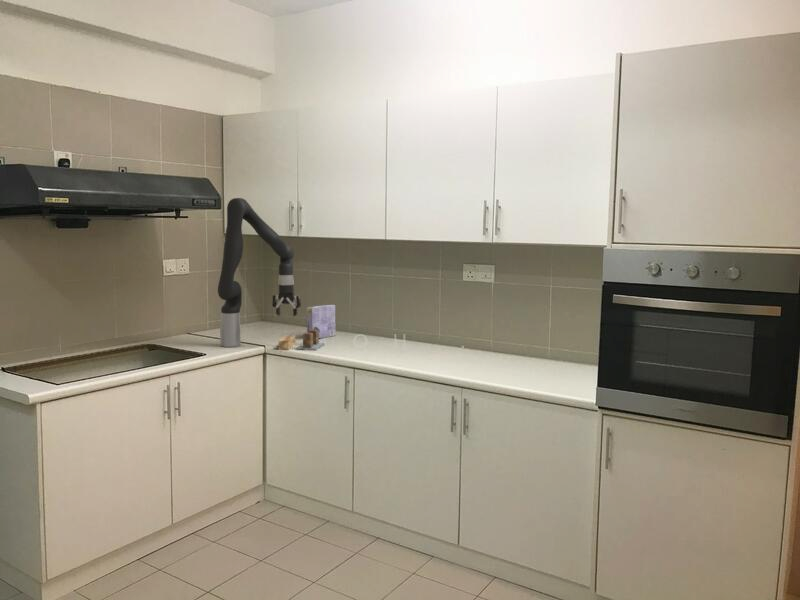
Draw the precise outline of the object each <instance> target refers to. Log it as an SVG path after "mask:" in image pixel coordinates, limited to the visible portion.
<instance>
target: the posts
mask: <svg viewBox="0 0 800 600" xmlns="http://www.w3.org/2000/svg"><path fill="white" fill-rule="evenodd" d="M318 343H320V339H319V330H310V331H309V333H307V332H304V333H303V334H302V345H303V348H312V347H313V345H317V344H318Z"/></svg>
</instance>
